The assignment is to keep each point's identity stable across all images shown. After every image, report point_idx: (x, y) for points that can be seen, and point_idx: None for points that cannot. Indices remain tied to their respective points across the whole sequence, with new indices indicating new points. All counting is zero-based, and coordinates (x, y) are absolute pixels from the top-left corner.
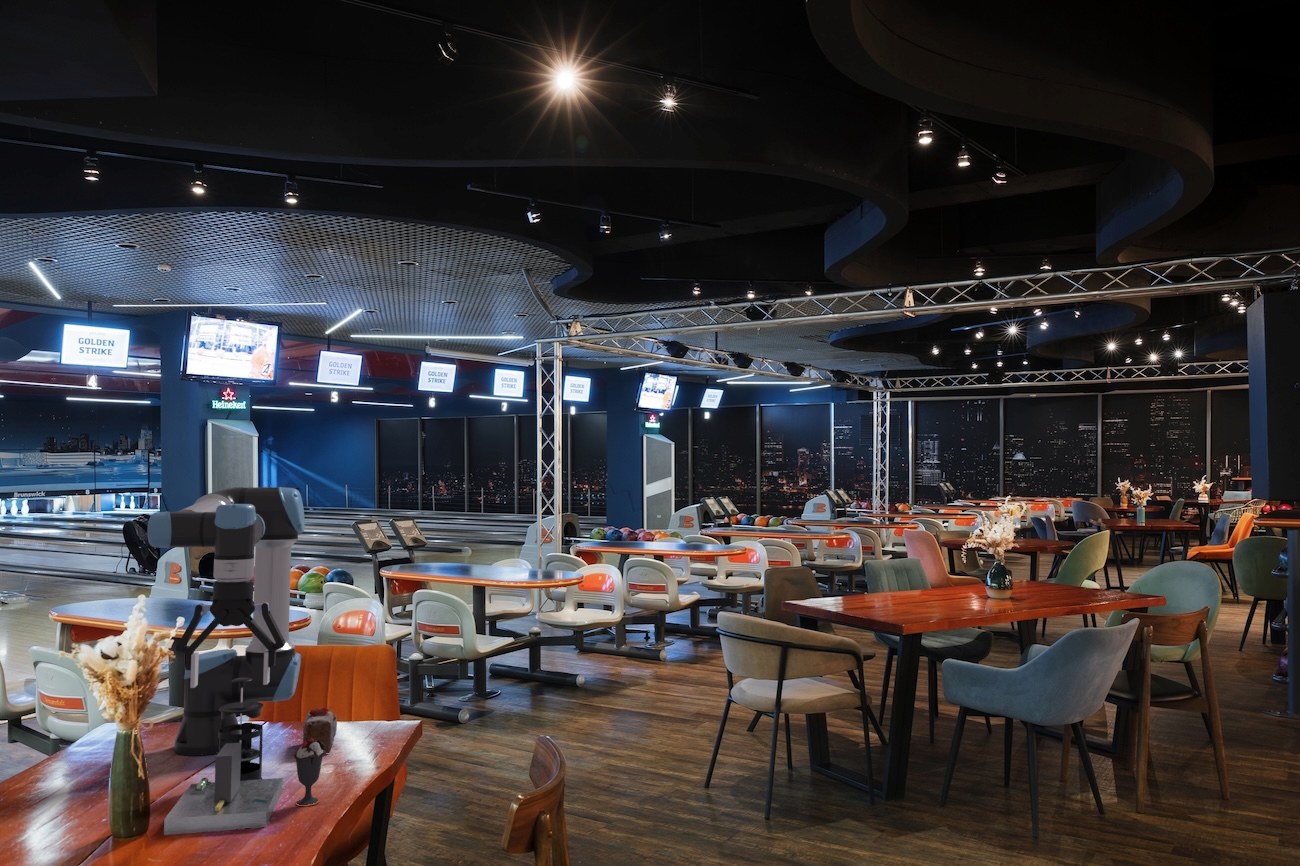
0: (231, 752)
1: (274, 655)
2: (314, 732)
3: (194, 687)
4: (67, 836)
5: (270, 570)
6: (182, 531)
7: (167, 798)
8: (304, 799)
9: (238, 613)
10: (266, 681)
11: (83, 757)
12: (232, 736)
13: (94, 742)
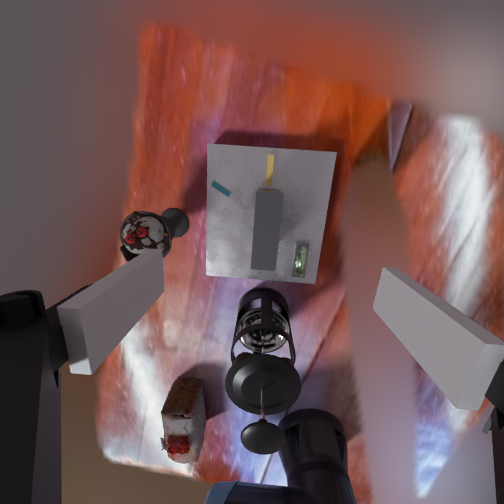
0: (259, 212)
1: (48, 309)
2: (184, 402)
3: (383, 268)
4: (441, 184)
5: None
6: None
7: (337, 284)
8: (175, 219)
9: None
10: (146, 252)
11: (435, 435)
12: (271, 328)
13: (426, 475)
